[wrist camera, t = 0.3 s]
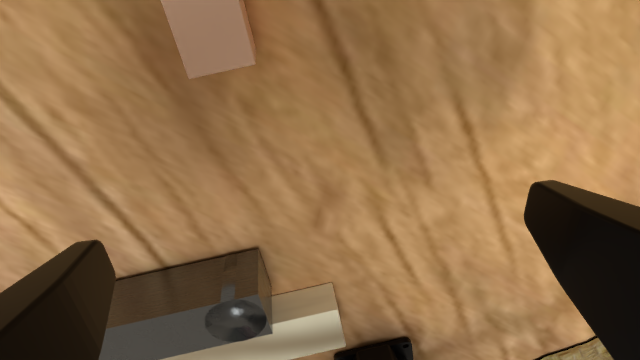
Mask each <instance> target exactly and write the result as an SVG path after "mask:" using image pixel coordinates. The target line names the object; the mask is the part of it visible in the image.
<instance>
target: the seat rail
mask: <svg viewBox="0 0 640 360" xmlns="http://www.w3.org/2000/svg"><path fill="white" fill-rule="evenodd" d="M272 325H273V334H269V335H265V336H260V337H256V338H252V339H249V340H245V341H240V342H234V343H230V344H226V345H221V346H217V347H213V348H208V349H204V350H200V351H195V352H191V353H186V354H182V355H178V356H173V357H169V358H165V359H160V360H290V359H295V358H299V357H303V356H308V355H312V354H316V353H321V352H325V351H329V350H334V349H338V348H342V347H346V343H345V338H344V334H343V329H342V324H341V320H340V315H339V311H338V306H337V302H336V298H335V293H334V289H333V285H332V283H328V284H324V285H319V286H315V287H310V288H306V289H302V290H297V291H293V292H288V293H284V294H280V295H275V296H272Z"/></svg>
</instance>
